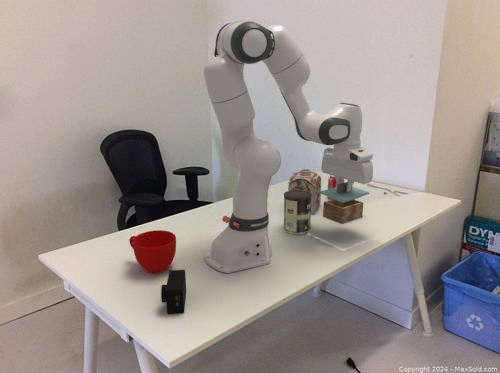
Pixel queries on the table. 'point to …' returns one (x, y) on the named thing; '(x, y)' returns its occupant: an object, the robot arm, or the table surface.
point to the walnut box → (342, 210)
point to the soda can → (332, 183)
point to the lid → (344, 193)
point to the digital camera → (174, 292)
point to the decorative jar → (307, 186)
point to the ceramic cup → (154, 250)
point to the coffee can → (297, 211)
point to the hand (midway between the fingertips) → (344, 190)
